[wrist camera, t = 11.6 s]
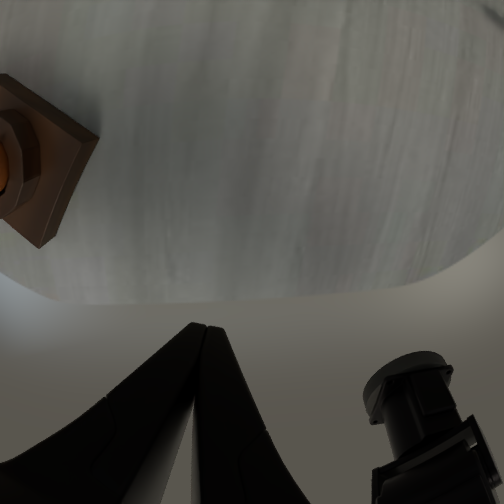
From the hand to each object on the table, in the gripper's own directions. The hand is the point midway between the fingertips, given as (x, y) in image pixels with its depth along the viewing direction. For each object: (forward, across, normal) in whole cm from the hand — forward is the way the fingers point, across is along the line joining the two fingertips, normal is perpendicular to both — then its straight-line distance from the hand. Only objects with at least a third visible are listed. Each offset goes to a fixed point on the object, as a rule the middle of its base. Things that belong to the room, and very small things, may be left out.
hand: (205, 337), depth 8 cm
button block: (+12, +15, -1) cm, 19 cm away
